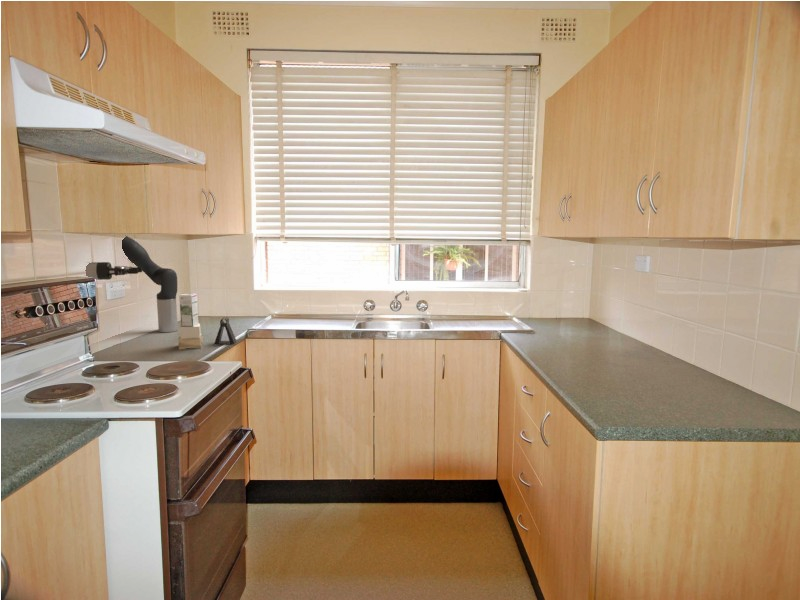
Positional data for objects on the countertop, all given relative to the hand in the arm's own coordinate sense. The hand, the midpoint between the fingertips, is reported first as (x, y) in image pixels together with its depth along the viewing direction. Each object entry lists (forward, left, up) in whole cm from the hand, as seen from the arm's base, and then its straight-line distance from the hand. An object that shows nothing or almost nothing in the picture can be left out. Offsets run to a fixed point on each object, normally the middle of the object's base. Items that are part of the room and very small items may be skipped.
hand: (139, 270), depth 212 cm
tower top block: (+2, +20, -30) cm, 36 cm away
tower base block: (+3, +19, -35) cm, 40 cm away
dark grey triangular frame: (-1, +34, -35) cm, 49 cm away
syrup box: (+3, +19, -25) cm, 32 cm away
